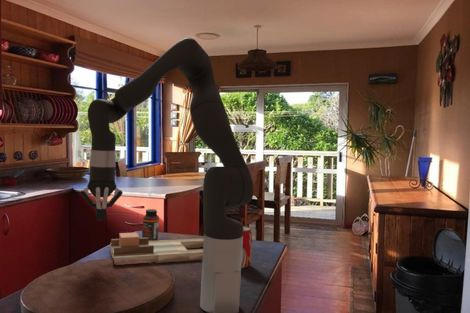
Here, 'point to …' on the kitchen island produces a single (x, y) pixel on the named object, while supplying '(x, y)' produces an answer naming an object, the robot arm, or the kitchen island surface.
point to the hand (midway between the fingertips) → (100, 220)
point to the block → (128, 239)
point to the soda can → (246, 247)
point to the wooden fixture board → (159, 250)
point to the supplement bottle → (150, 225)
